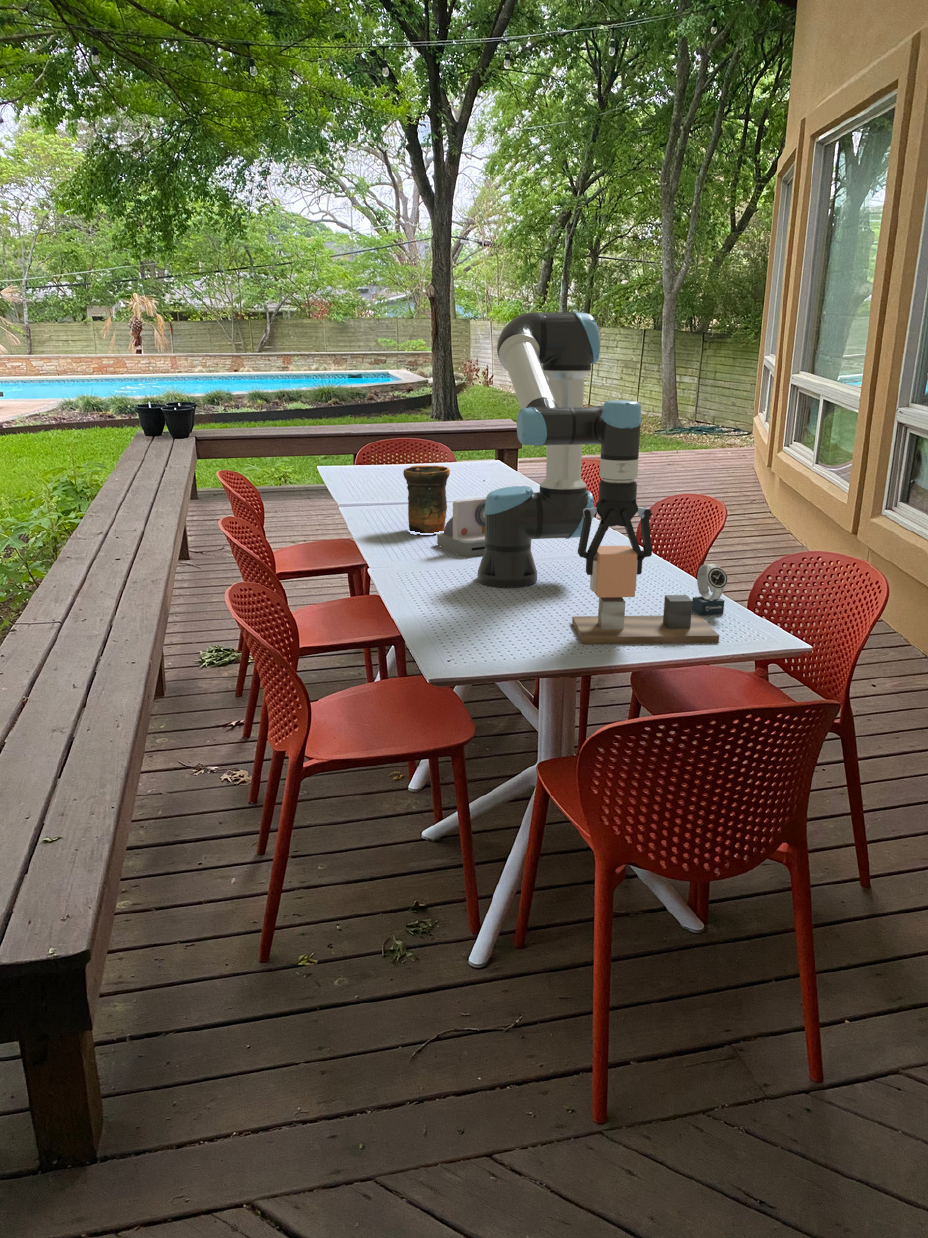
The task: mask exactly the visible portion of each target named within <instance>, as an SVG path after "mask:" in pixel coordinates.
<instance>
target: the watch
mask: <svg viewBox="0 0 928 1238" xmlns="http://www.w3.org/2000/svg"><path fill="white" fill-rule="evenodd" d="M728 580H729V577H728V575H727V573H726V571H725V570H724V569H723V568H722V567H720V566H719V565H717V564H715V563H706V564H702V565H701V566H699V568H698V572H697V577H696V582H697V584H696V585H697V589H698V592H699V594H700V595H701V596H693V597H692V612H694V613H696V614H697V615H700V616H701V617H702V616H704V617H705V616H712V615H723V614H724V610H725V600H724V599H722V598H721V597H722V595H723V592H724V591H725V589H726V586H727V585H728V584H727V583H728ZM710 593H711V594H710Z"/></svg>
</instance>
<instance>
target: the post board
mask: <svg viewBox="0 0 928 1238" xmlns="http://www.w3.org/2000/svg"><path fill="white" fill-rule="evenodd" d="M692 601H693V599H691V598H690V597H689V596H688V595H687V594H664V603H663V604H664V605H663V615H626V613H625V612H626V600H625V599H624V597H598V612H597V614H598V615H595V616H594V615H591V616H588V615H587V616H585V615H582V616H581V615H580V616H571V617H572V618H571V623H573V624H572V625H574V626H573V627H574V629H575V631H576V634H577V635H578V637H579V639H580V642H581V643H582V645H614V644H615V645H618V644H619V645H620V644H622V645H623V644H624V645H625V644H626V645H627V644H628V645H630V644H684V643H685V644H696V643H697V644H698V643H699V644H700V643H701V644H704V643H708V644H709V643H710V644H712V643H713V644H715V643H720V634H719V633H718V632H717V631H715V629H714V628H713V627H712V626H711V625H710V624H709V623H708V621H706V620H705V619H704V618H703V617H702V616H701V615H699V614H692V612H693V611H692Z"/></svg>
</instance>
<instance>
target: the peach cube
mask: <svg viewBox="0 0 928 1238" xmlns="http://www.w3.org/2000/svg"><path fill="white" fill-rule="evenodd" d="M594 558H595V559H596V560H597V575H596V592H594V593H595V596H596V597H597V598H599V597H622V598H635V596H636V591H635V585H636V586H637V579H636V568H637V553H636V552H635V551H634V550H633V549H632V546H631V545H600V546H599V548H598V550H597V552H596V554H595V557H594Z"/></svg>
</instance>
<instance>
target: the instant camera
mask: <svg viewBox="0 0 928 1238" xmlns="http://www.w3.org/2000/svg"><path fill="white" fill-rule="evenodd" d="M486 497H487V496H483V497H476V498H468V499H467V498H466V499H457V500H453V502H452V517H451V518H450V519H449V520H448V521H447V522H446V523H445V529H444V533H440V534H437V535H436V536H437V537H436V539H437V540H436V544H438V546H441V547H443V548H445V549H444V550H446V549H447V550H446V551H448V550H449V552H451V551H452V552H451V553H454V554H456V553H457V554H456V555H459V556H461V555H462V556H461V557H465V558H469V557H471V556H472V557H478V556H477V555H479V556H483V554H484V551H485V513H484V510H485V503H486ZM438 546H437V547H438ZM441 547H440V548H441ZM443 548H442V549H443Z"/></svg>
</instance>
